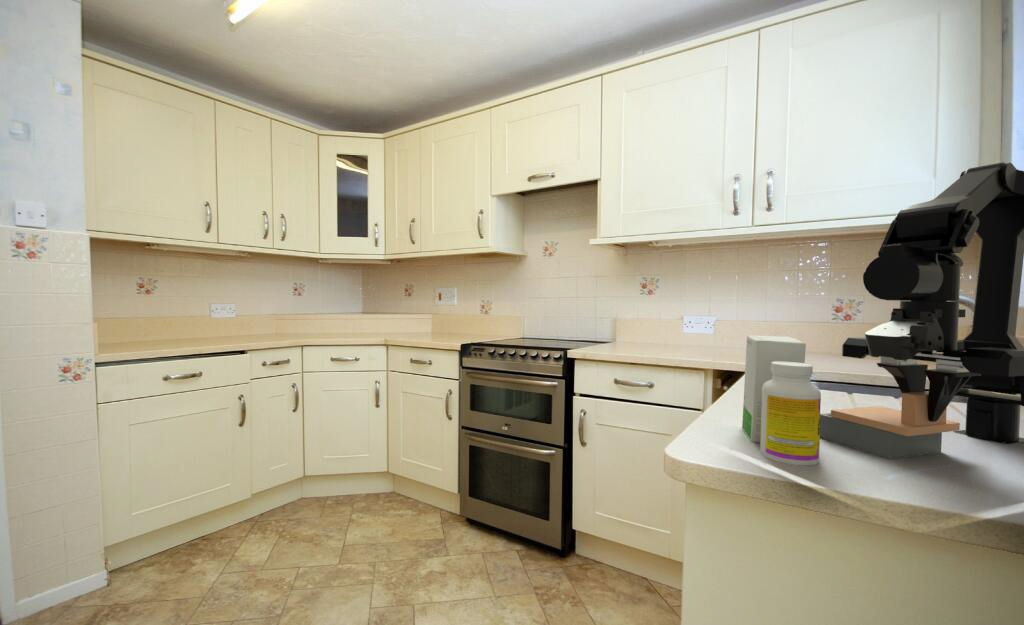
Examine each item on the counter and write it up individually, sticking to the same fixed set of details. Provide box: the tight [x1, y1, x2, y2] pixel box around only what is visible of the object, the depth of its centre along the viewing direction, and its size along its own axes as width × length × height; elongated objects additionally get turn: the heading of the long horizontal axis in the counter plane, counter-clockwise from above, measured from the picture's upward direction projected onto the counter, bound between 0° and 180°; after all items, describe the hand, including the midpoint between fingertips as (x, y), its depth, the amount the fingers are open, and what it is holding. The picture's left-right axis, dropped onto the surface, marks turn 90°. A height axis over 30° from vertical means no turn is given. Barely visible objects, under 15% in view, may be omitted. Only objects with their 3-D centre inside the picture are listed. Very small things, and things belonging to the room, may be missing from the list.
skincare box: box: [741, 334, 807, 443], centre depth 69 cm, size 8×7×16 cm
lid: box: [830, 390, 961, 436], centre depth 64 cm, size 10×10×5 cm
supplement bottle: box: [759, 361, 822, 466], centre depth 60 cm, size 7×7×13 cm
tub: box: [820, 412, 943, 460], centre depth 66 cm, size 10×10×4 cm
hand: (923, 419), depth 60 cm, fingers closed on lid, 2 cm apart
